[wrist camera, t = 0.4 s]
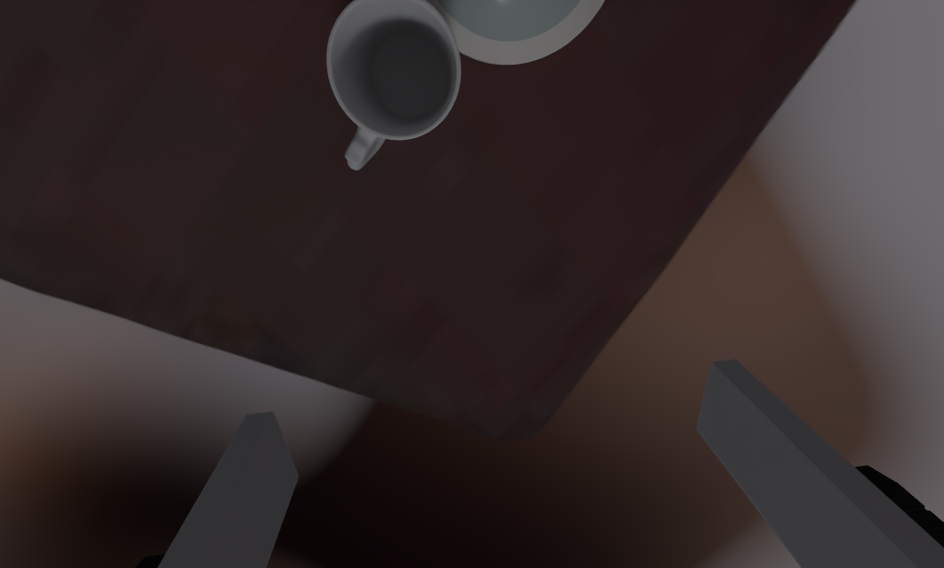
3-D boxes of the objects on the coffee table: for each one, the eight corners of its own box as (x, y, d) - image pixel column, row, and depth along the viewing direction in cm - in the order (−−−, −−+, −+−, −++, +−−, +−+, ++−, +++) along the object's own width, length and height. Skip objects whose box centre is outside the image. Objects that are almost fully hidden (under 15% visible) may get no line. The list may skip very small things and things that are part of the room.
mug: (393, 5, 29) (365, -48, 18) (471, 63, 31) (486, 47, 20) (333, 129, 32) (278, 147, 22) (406, 175, 34) (390, 213, 24)
